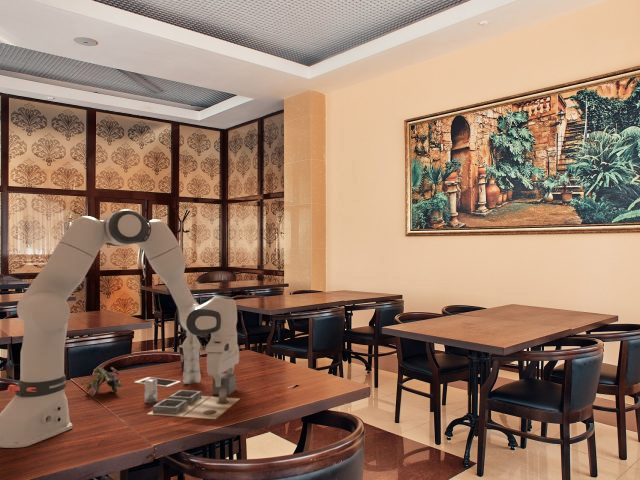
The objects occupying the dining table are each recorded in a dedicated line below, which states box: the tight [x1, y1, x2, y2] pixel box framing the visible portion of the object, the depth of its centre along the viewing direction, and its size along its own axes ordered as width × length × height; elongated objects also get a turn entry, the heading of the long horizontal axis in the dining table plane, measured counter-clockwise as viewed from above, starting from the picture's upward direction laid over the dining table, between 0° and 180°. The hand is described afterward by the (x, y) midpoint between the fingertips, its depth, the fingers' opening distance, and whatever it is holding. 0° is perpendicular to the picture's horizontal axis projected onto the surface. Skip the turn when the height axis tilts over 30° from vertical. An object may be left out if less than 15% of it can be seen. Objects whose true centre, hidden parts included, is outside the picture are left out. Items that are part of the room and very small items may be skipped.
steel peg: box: [144, 379, 158, 404], centre depth 170 cm, size 4×4×7 cm
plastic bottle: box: [181, 331, 202, 385], centre depth 191 cm, size 6×7×20 cm
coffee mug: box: [179, 344, 201, 372], centre depth 211 cm, size 12×9×10 cm
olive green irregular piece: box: [80, 366, 122, 398], centre depth 178 cm, size 11×11×12 cm
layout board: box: [147, 389, 241, 420], centre depth 160 cm, size 20×22×6 cm
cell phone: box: [134, 376, 181, 388], centre depth 194 cm, size 8×16×1 cm, turn 68°
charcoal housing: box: [212, 373, 237, 396], centre depth 175 cm, size 6×6×7 cm
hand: (224, 382), depth 175 cm, fingers open, 8 cm apart
